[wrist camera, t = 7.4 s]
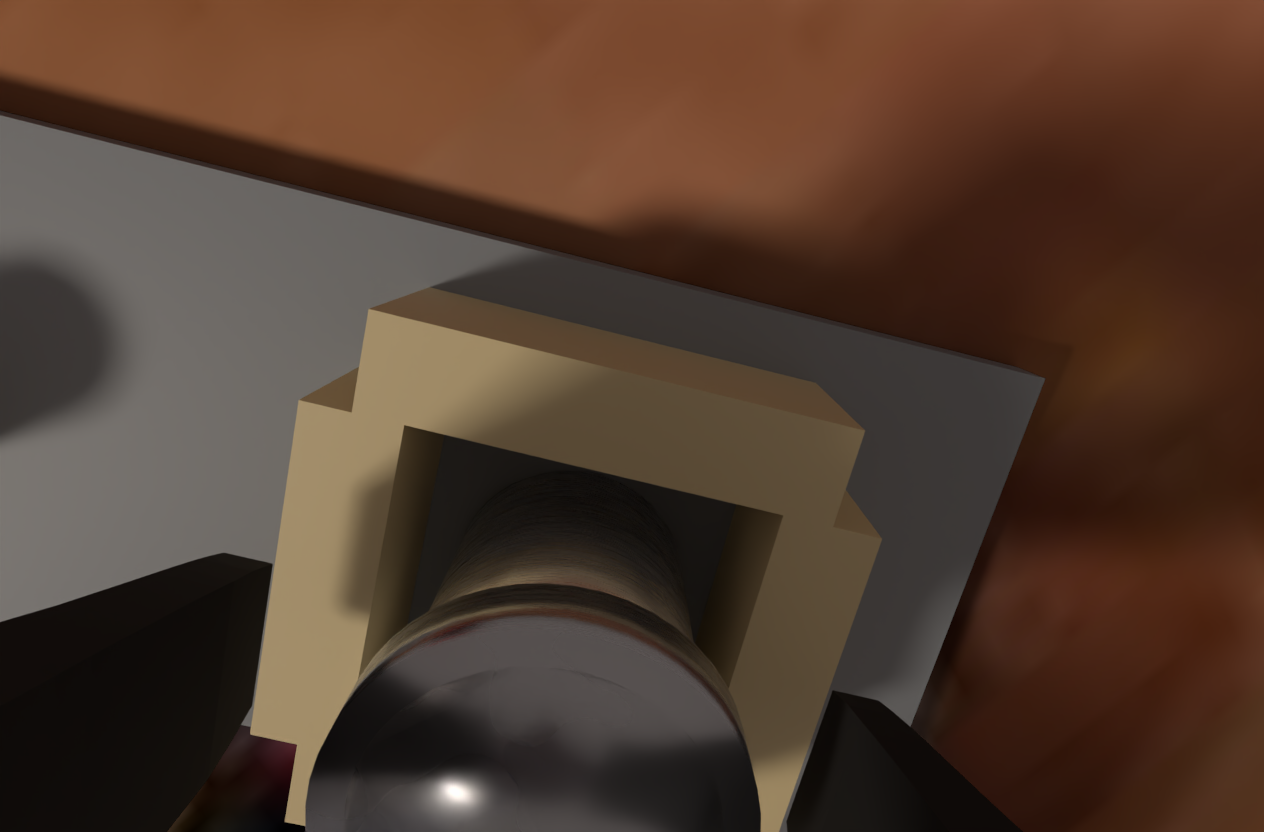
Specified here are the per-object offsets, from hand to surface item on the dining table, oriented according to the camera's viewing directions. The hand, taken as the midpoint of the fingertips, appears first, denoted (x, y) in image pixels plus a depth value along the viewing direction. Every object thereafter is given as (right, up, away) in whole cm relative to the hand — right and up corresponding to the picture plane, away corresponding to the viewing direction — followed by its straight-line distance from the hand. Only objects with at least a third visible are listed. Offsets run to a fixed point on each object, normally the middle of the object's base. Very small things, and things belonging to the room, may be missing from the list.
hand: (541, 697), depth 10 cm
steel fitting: (0, +1, +4) cm, 4 cm away
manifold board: (-5, +3, +5) cm, 7 cm away
